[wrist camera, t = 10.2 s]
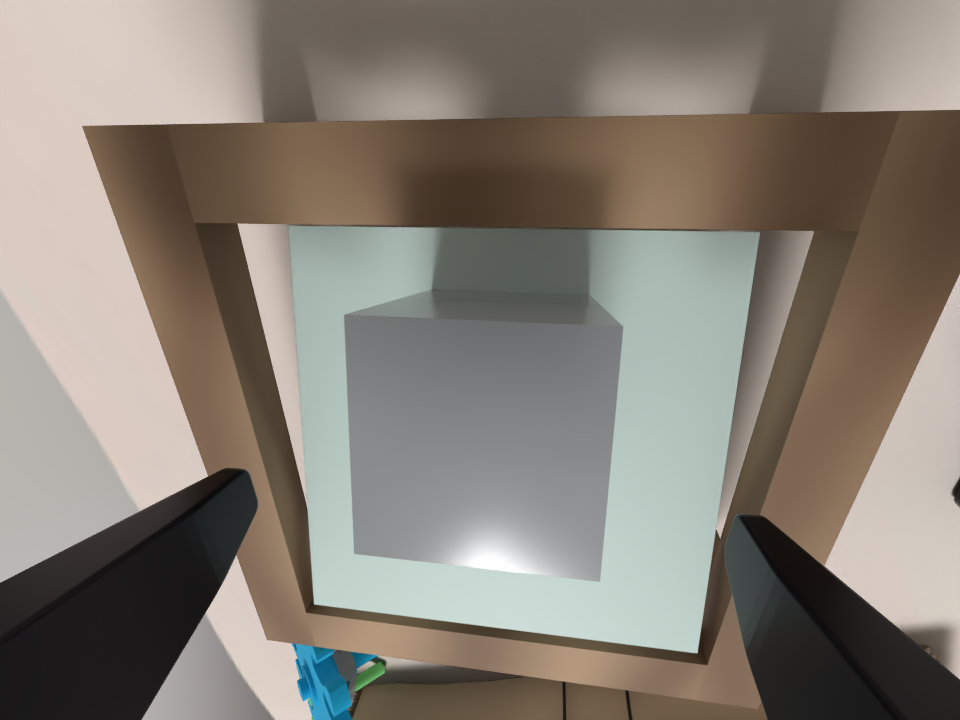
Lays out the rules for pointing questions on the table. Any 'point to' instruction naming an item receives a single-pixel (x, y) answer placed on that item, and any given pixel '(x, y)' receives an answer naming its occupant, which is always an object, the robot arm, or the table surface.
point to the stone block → (483, 429)
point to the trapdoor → (637, 431)
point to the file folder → (533, 702)
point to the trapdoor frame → (567, 204)
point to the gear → (332, 679)
